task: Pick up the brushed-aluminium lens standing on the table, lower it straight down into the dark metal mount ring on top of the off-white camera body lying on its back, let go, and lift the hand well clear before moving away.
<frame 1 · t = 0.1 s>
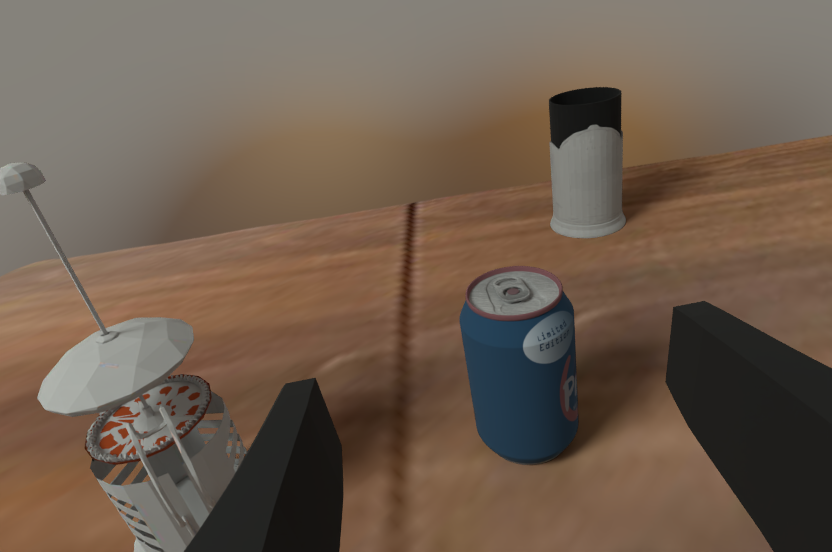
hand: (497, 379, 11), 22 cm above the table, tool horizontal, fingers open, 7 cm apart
soda can: (527, 435, 38), on the table
grey and black mug: (582, 214, 67), on the table
french press: (213, 530, 35), on the table
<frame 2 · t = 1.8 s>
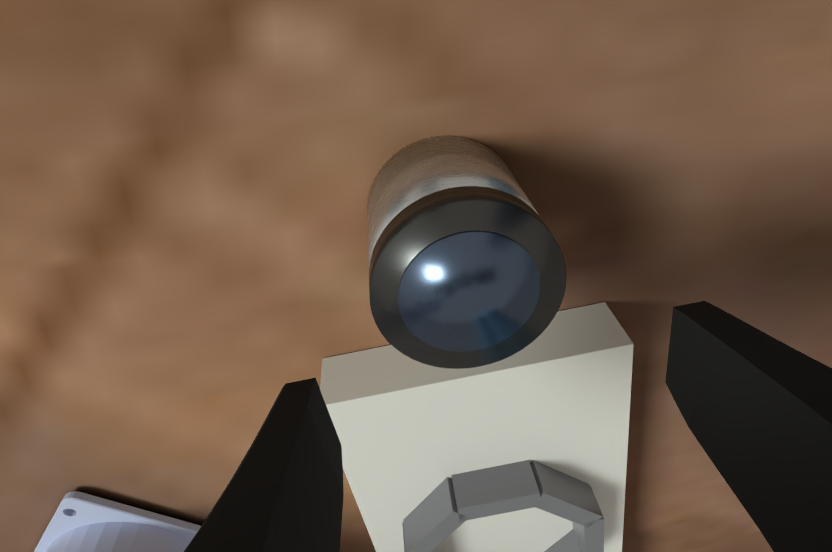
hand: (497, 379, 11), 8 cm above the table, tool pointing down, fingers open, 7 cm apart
lens: (442, 209, 18), on the table
camera body: (487, 476, 25), on the table
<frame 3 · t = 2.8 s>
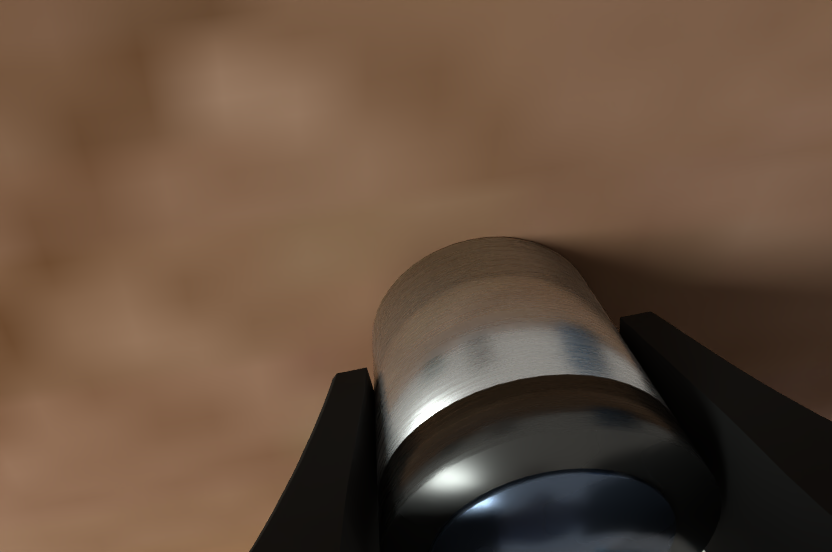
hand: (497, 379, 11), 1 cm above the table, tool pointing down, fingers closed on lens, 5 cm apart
lens: (483, 335, 12), on the table, touching gripper
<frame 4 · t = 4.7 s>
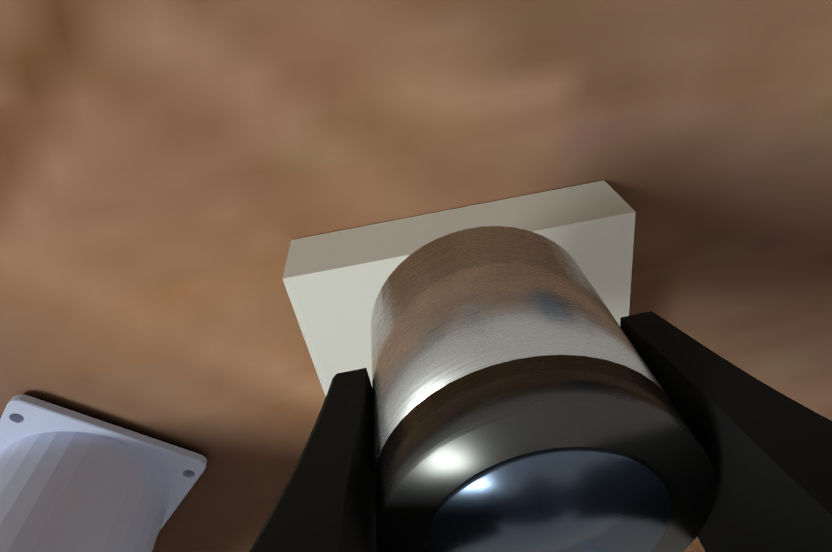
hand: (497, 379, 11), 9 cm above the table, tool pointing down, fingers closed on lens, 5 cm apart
lens: (481, 325, 12), point 7 cm above the table, touching gripper
camera body: (474, 393, 23), on the table
when the fingers open (5 cm above the table, at t = 6.7 s): lens stays where it is, resting on camera body.
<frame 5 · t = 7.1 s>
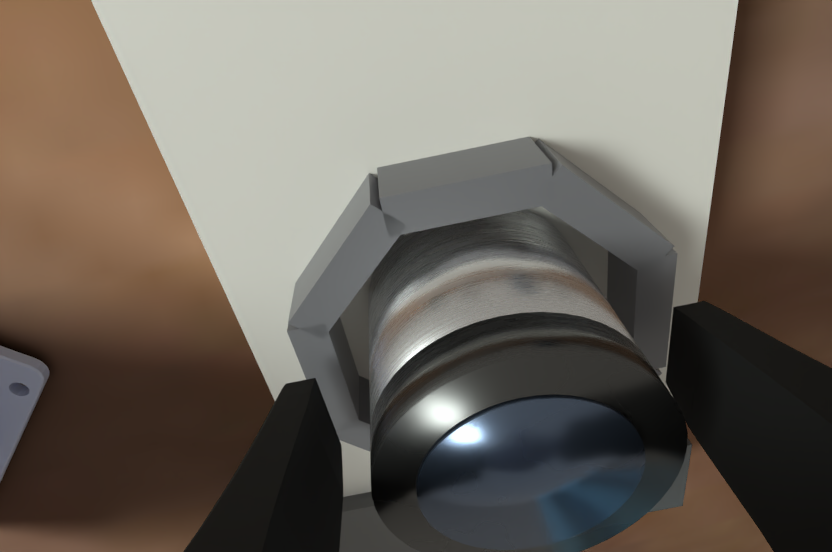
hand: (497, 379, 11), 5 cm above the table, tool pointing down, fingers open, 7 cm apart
lens: (474, 298, 13), point 3 cm above the table, touching camera body
camera body: (459, 257, 15), on the table
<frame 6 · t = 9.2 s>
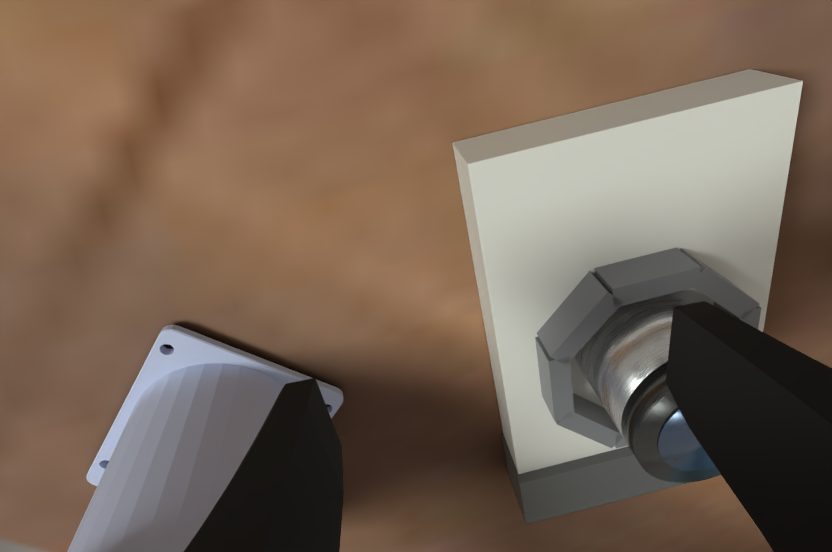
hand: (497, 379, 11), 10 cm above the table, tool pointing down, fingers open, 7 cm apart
lens: (634, 336, 21), point 2 cm above the table, touching camera body
camera body: (607, 309, 24), on the table
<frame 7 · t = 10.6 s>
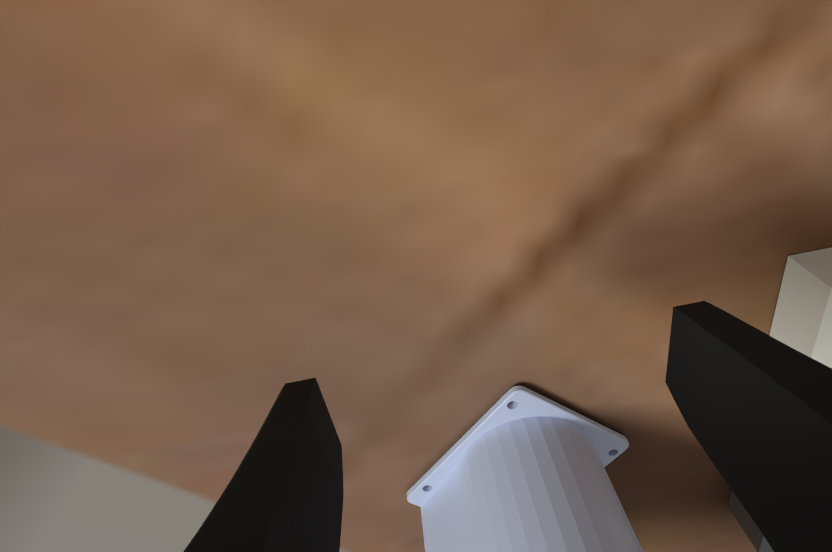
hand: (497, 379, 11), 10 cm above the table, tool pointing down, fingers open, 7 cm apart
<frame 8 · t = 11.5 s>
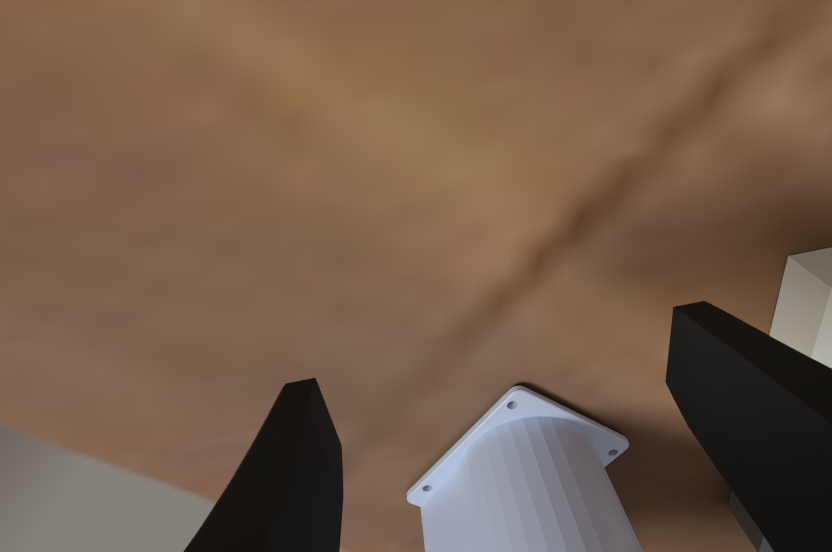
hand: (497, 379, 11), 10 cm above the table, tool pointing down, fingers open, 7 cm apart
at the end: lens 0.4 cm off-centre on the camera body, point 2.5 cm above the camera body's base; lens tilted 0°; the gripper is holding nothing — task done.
